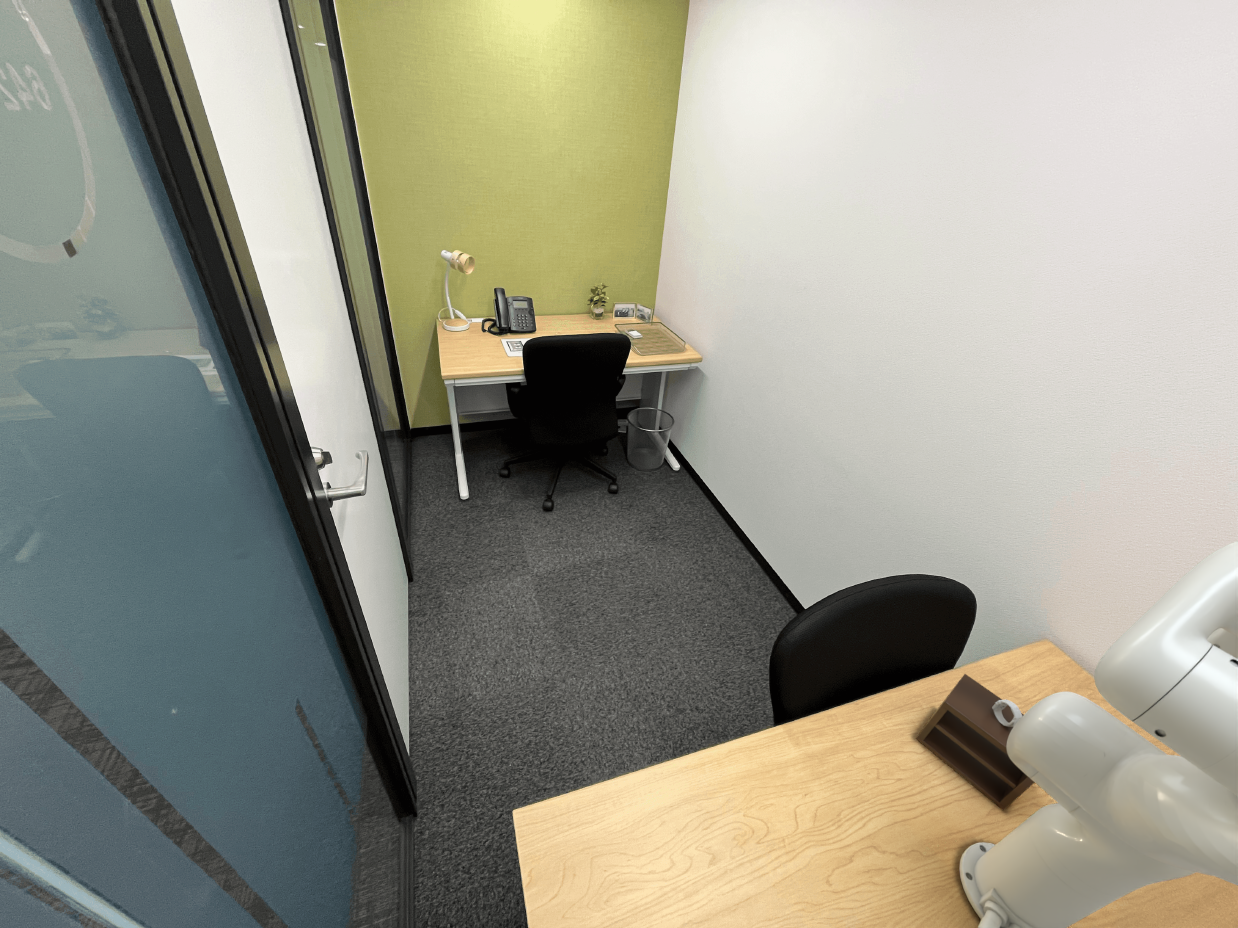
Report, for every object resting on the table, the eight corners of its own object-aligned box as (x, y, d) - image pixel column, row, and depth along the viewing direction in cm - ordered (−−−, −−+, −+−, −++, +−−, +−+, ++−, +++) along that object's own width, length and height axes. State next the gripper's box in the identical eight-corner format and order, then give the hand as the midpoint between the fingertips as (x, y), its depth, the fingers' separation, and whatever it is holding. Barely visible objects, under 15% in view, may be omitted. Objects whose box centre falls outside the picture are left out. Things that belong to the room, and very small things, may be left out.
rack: (1003, 810, 79) (1043, 774, 73) (915, 738, 88) (944, 701, 82) (1020, 774, 85) (1059, 739, 78) (936, 710, 93) (965, 673, 87)
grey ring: (1016, 730, 79) (1029, 716, 77) (1004, 732, 78) (1017, 717, 76) (998, 709, 82) (1010, 695, 80) (987, 710, 81) (999, 696, 79)
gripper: (1218, 580, 62) (1129, 664, 71) (1449, 684, 51) (1308, 767, 60) (1223, 557, 66) (1138, 639, 75) (1437, 648, 55) (1307, 731, 64)
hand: (1214, 696), depth 68 cm, fingers open, 9 cm apart
